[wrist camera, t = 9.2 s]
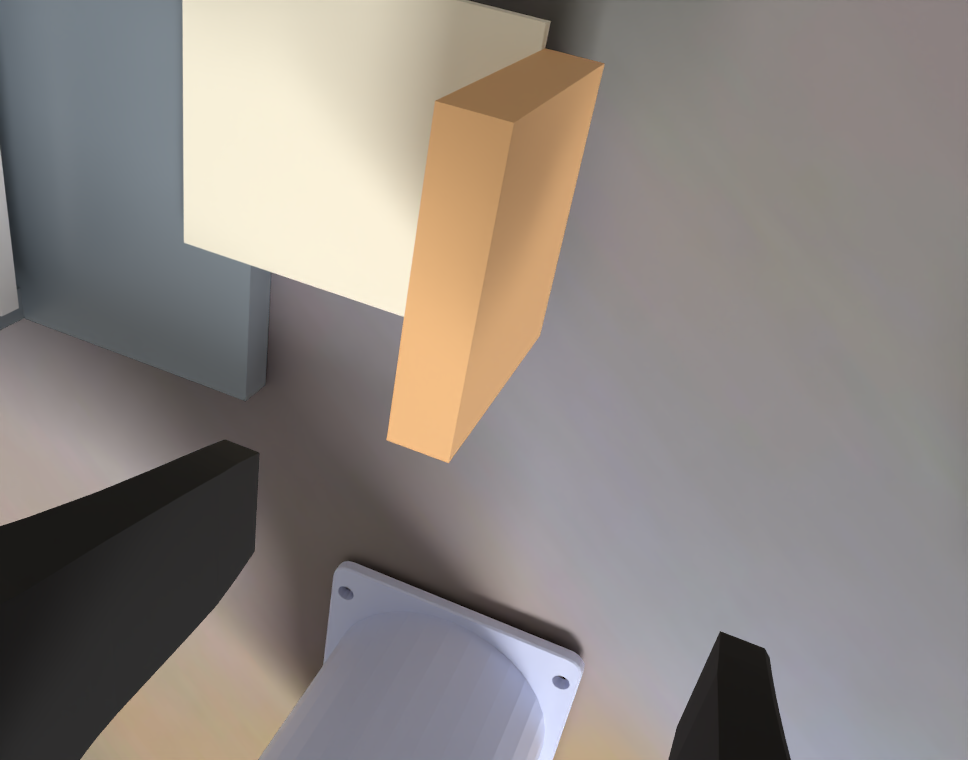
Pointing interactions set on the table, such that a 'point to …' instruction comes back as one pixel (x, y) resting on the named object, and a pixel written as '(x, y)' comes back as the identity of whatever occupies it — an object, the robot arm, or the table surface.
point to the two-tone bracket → (392, 174)
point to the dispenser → (114, 195)
